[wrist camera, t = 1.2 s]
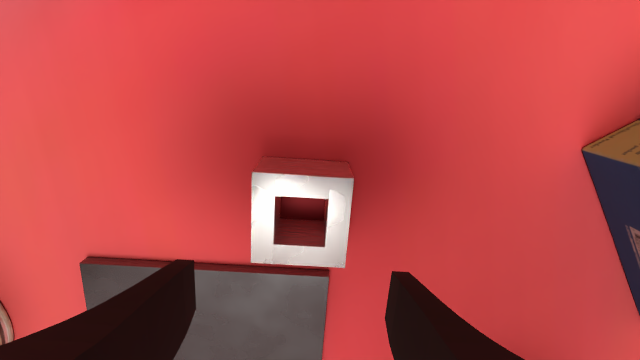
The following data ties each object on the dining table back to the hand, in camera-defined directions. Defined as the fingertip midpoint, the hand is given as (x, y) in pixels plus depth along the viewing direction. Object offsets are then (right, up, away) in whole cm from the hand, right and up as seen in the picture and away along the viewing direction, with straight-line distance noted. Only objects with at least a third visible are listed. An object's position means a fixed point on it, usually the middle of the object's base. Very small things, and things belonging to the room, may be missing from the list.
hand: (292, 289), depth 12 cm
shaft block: (-7, -7, +12) cm, 16 cm away
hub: (0, +3, +9) cm, 9 cm away
